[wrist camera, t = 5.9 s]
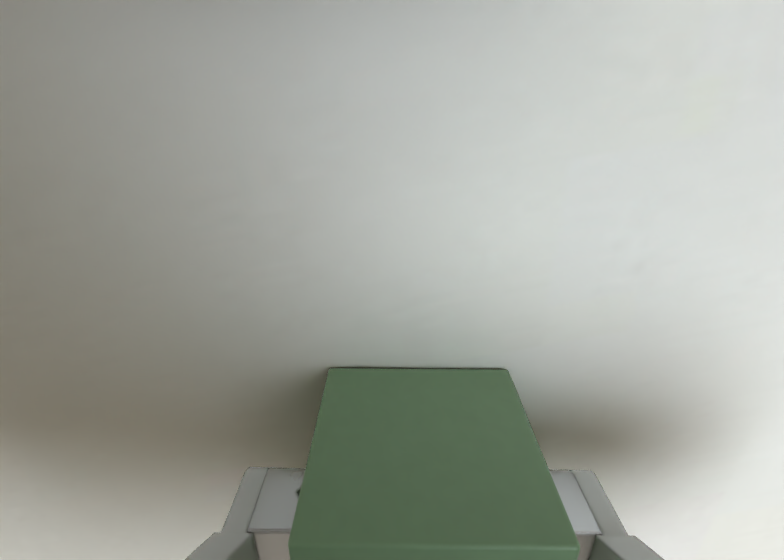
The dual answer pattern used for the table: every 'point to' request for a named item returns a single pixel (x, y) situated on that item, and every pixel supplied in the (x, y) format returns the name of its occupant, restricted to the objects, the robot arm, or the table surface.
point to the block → (427, 472)
